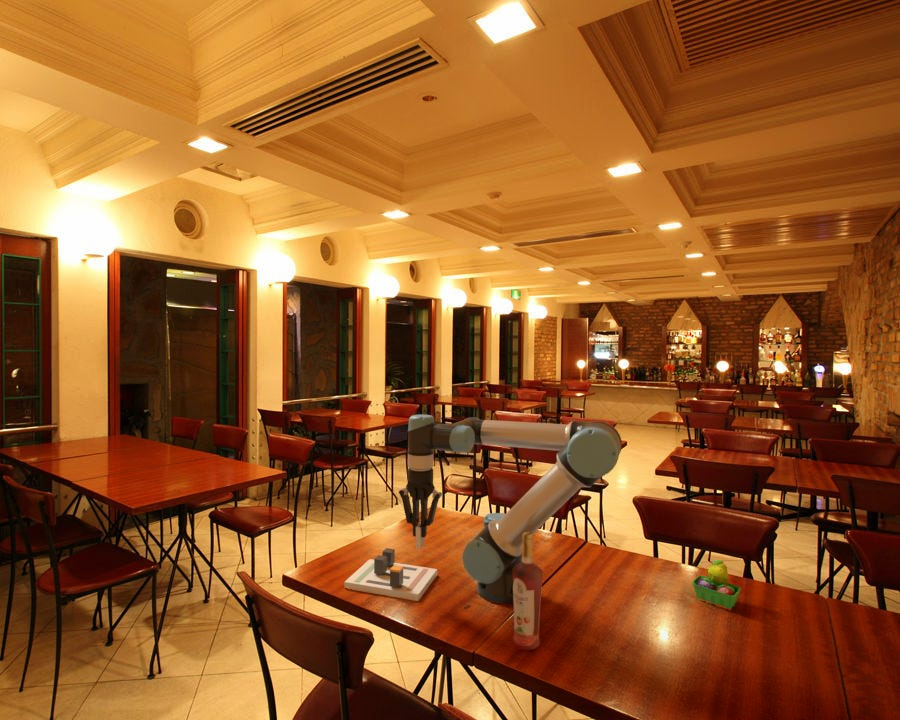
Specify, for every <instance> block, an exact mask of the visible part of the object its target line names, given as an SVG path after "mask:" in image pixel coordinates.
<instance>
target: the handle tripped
mask: <svg viewBox="0 0 900 720" xmlns="http://www.w3.org/2000/svg"><path fill="white" fill-rule="evenodd" d="M402 584H403V566H398V565H394V566H393V567H392V568H391V569H390V586H392V587H398V588H399V587H400V586H401V585H402Z"/></svg>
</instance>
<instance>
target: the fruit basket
mask: <svg viewBox="0 0 900 720" xmlns="http://www.w3.org/2000/svg"><path fill="white" fill-rule="evenodd" d="M707 573H708V574H707V575H708V576H705V575H699V576H697V577H696V578H695V579H694V580H693V581H691V583H692V587H693V589H694V594H695V596H696V599H697V598H699V599H703V600H705V601H708V602H712V603H715V604H718V605H721V606H724V607H726V608H730V609H731V608H732V607H733V606H734V607H735V605H736V604H737V600H738V598H739V595H740V593H741V590H742V588H741V587H740V586H737V585H735V584H732V583H730V582H728V581H729V572H728V566H727V565H726V564H725V563H724V561H723V560H719V559H716V560H715V561H714V562H713V563H712V564H711V566H710V567H709V568H708V570H707ZM735 603H736V604H735ZM734 604H735V605H734ZM734 607H733V608H734ZM733 608H732V609H733ZM732 609H731V610H732Z"/></svg>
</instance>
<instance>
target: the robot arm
mask: <svg viewBox="0 0 900 720" xmlns="http://www.w3.org/2000/svg"><path fill="white" fill-rule="evenodd" d="M407 433H408V435H407V438H408V440H407V442H408V444H407V447H408V449H407V467H408V469H407V483H406V486H405V487H403V488H401V489H400V490H399V491H398V494H399V496H400V497H401V501H402V505H403V510H404V515H405V520H406V523H407V524H410V525H412V536H413V537H415V549H416V550H422V548H423V547H424V542H425V541H424V540H425V539H424V538H425V537H426V536H427V533H428V532H427V531H428V530H427V528H428V527H430V526H431V524H432V523H434V518H435V515H436V512H437V511H436V510H437V508H438V503H439V500H440V498H441V497H442V495H443V493H442V492H440V491H437V490H436V487H435V485H434V468H433V467H434V454H435V453H434V452H435V451H434V450H438V451H446V452H454V453H470V452H471V451H472V449H473V448H474V445H485V446H497V447H508V448H509V447H510V448H524V449H532V450H533V449H534V450H547V451H558V452H557V453H556V462H555V463H554V465H552V467H550V469H548V471H547V472H545V474H544V475H543V476H542V477H540V479H538V481H537V482H535V484H533V486H532V487H531V488H530V489H529V490H528V491H527V492H526V493H525V494H524V495H523V496H522V497H520V499H519V500H518V501H517V502H515V504H514V505H513V506H512V507H511V508H510V509H509V510H508V511H507V512H506V513H503V512H492V513H491V512H490V513H488V514H486V515H484V517H483V522H482V523H483V528H482V529H481V530H480V531H479V533H477V534H476V535H475V537H474V538H473V539H471V540H470V541H469V542H468V543H466V545H465V546H464V549H463V551H462V557H461V558H462V564H463V567H464V570H465V571H466V573H467V574H468V575H469V576H470V577H471V579H473V580H474V581H476V583H477V584H476V586H477V587H476V590H477V593H478V595H479V596H480V597H481V598H483V599H485V600H486V601H489V602H492V603H496V604H514V600H513V570H512V569H513V567H514V566H516V565H517V564H519V563H521V562H522V553H523V541H522V533H523V532H531V533H533V535H534V534H535V533H536V532H537V531H538V530H539V529H540V528H541V527H542V526H543V525H545V523H546V522H547V521H548V520H549V519H550V518H551V517H552V516H553V515H554V514H555V513H557V511H559V509H561V508H562V507H563V506H564V505H565V503H567V501H569V500H570V499H571V498H572V497H573V496H574V495H575V494H577V492H578V491H579V490H580V489H582V488H591V487H593V486H594V485H595V484H596V483H597V482H598V481H599V479H601V478H602V477H604V476H606V475H608V474H609V473H611V471H612V470H613V469H614V468H615V467H616V465H617V463H618V460H619V457H620V454H621V452H622V448H623V447H622V446H623V445H622V444H623V441H622V437H621V435H620V433H619V431H618V430H617V429H616V428H615V427H614V426H613V425H612V424H610V423H608V422H605V421H601V420H596V421H595V420H594V421H592V420H591V421H590V420H589V421H576V420H575V421H574V420H572V421H570V422H569V423H568V424H563V423H546V422H545V423H544V422H531V421H530V422H528V421H513V420H497V419H496V420H494V419H493V420H491V419H480V418H477V417H467V418H464V419H463V420H460V421H457V422H454V423H451V424H449V423H437V422H435V417H434V416H433V415H431V414H430V415H429V414H413V415H411V416H410V417H409V418H408V429H407ZM409 495H410V496H411V500H410V496H409ZM430 496H432V497H431V498H432V500H431V504H430V508H429V507H428V502H429V498H430ZM411 504H412V505H411ZM428 508H429V512H428Z"/></svg>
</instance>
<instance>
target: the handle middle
mask: <svg viewBox="0 0 900 720" xmlns="http://www.w3.org/2000/svg"><path fill="white" fill-rule="evenodd" d="M373 560H374V573H375V574H382V575H383V574H384V573H385V572H386V571H387V557H386V556H382V555H380V554H379V555H377V556H376V557H375V558H374V559H373Z"/></svg>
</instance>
